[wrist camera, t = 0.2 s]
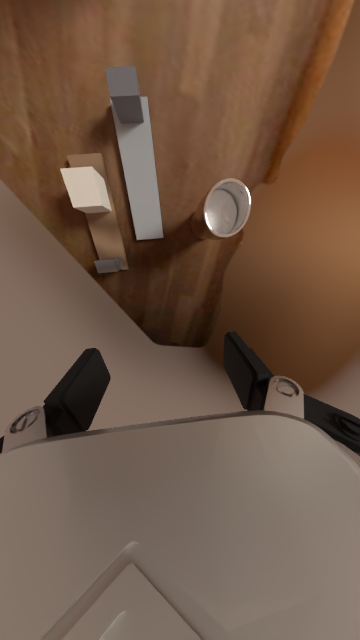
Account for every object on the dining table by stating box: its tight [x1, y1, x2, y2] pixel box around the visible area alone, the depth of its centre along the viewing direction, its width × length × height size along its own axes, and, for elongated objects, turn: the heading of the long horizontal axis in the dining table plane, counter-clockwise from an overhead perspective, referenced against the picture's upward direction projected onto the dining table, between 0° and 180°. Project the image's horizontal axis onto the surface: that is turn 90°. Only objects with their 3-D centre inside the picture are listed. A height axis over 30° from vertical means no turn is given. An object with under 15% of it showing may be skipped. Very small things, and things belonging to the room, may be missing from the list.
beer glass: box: [191, 178, 251, 240], centre depth 26 cm, size 7×7×15 cm
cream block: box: [60, 166, 112, 213], centre depth 26 cm, size 5×5×5 cm
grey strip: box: [105, 66, 163, 240], centre depth 26 cm, size 20×6×6 cm, turn 5°
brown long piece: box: [67, 153, 129, 273], centre depth 29 cm, size 20×6×6 cm, turn 5°
